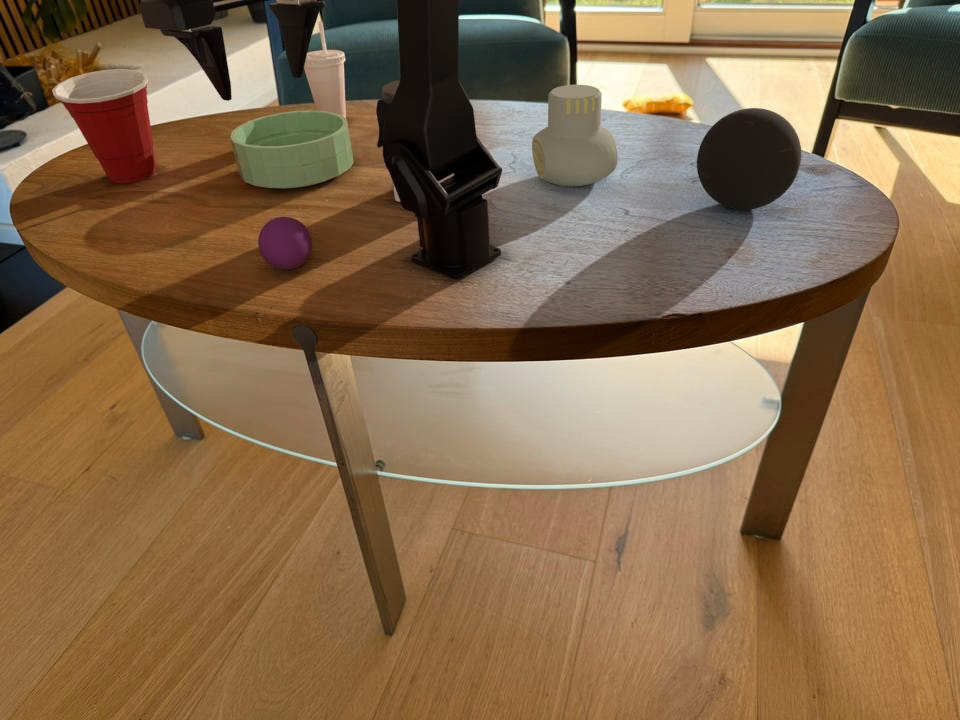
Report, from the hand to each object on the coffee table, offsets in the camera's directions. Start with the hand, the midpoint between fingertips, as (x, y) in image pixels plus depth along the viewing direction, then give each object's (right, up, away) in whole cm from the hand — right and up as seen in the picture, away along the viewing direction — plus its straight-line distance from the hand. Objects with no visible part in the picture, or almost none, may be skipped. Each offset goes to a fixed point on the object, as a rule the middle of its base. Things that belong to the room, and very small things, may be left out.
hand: (263, 88), depth 73 cm
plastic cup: (-23, -4, +19) cm, 30 cm away
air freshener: (+33, -7, +11) cm, 36 cm away
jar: (+17, -9, +10) cm, 21 cm away
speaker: (+50, -12, +2) cm, 52 cm away
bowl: (-1, -4, +17) cm, 18 cm away
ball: (+4, -17, -5) cm, 18 cm away
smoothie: (0, +7, +33) cm, 34 cm away
